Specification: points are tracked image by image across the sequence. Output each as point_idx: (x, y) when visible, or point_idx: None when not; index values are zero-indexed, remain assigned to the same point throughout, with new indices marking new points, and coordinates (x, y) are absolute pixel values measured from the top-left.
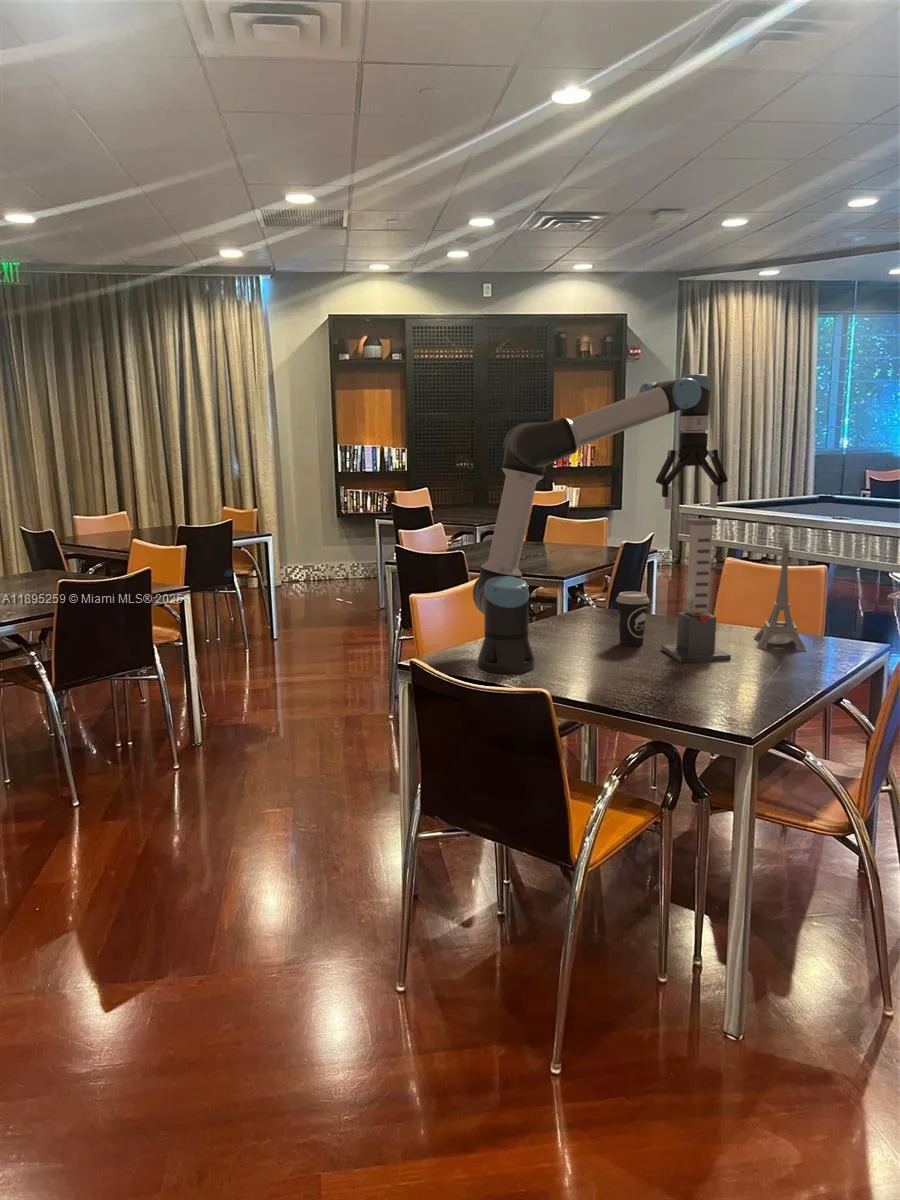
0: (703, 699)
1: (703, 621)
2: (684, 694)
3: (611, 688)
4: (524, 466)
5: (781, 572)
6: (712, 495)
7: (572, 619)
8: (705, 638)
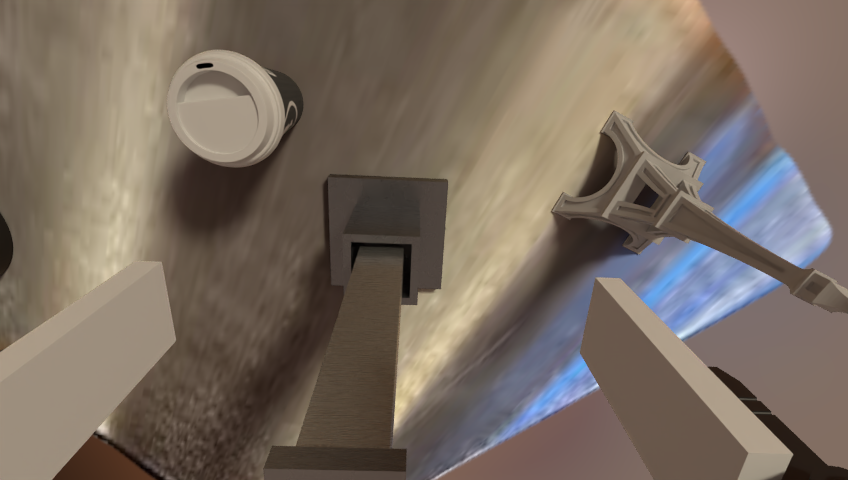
0: None
1: None
2: (269, 430)
3: (157, 388)
4: None
5: (741, 253)
6: (641, 392)
7: None
8: None
